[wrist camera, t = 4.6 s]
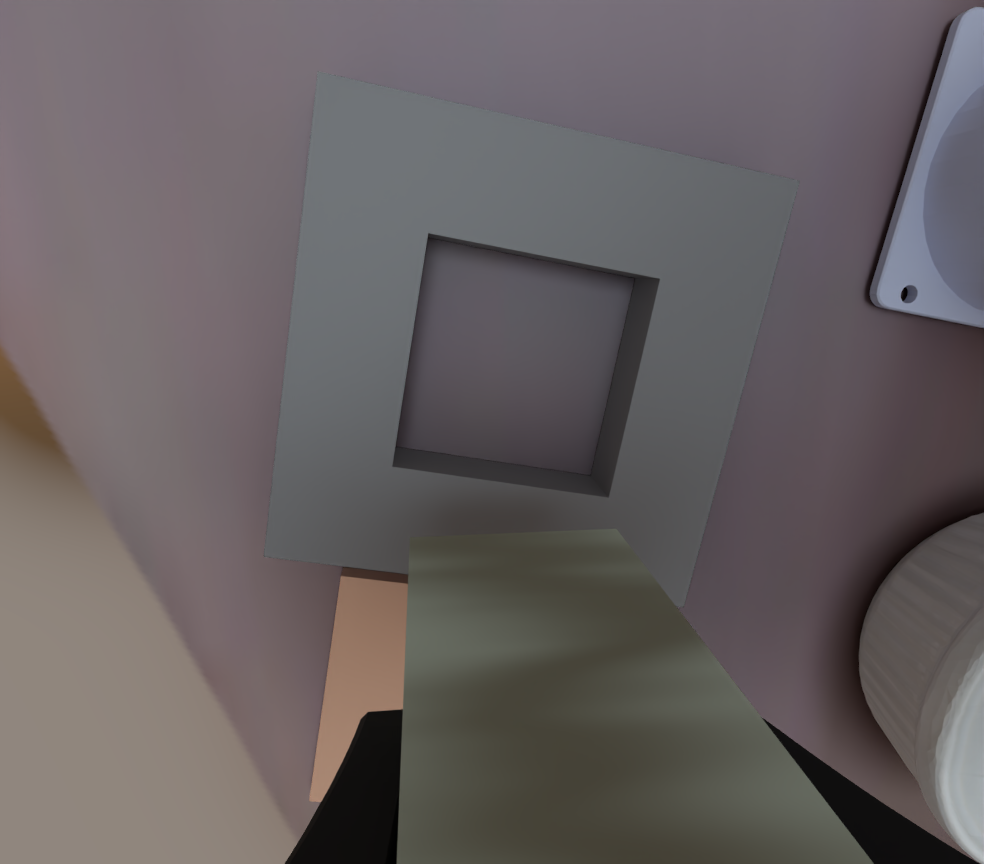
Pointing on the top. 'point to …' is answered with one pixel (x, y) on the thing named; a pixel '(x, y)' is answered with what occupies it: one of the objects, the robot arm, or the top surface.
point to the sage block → (583, 719)
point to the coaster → (360, 664)
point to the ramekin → (934, 673)
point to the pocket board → (531, 233)
